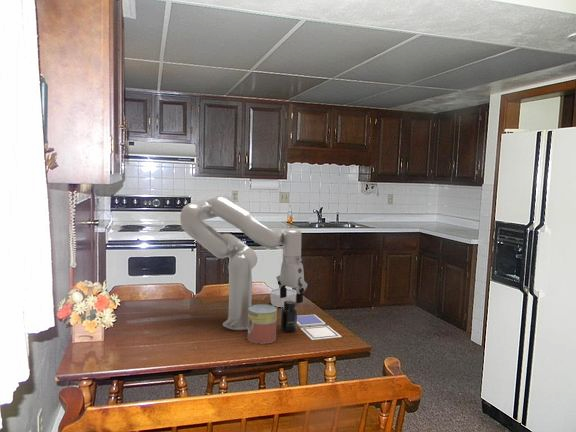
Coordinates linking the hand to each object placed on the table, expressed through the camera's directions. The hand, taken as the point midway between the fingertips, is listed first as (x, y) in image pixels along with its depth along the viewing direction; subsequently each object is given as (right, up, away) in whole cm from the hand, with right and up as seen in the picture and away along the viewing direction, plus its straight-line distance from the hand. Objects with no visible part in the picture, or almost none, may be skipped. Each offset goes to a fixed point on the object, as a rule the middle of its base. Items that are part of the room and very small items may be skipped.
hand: (291, 300), depth 179 cm
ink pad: (+7, -12, +13) cm, 19 cm away
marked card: (+12, -14, 0) cm, 18 cm away
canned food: (-12, -14, -8) cm, 20 cm away
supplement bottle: (-1, -13, +1) cm, 13 cm away
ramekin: (-4, -10, +36) cm, 37 cm away
